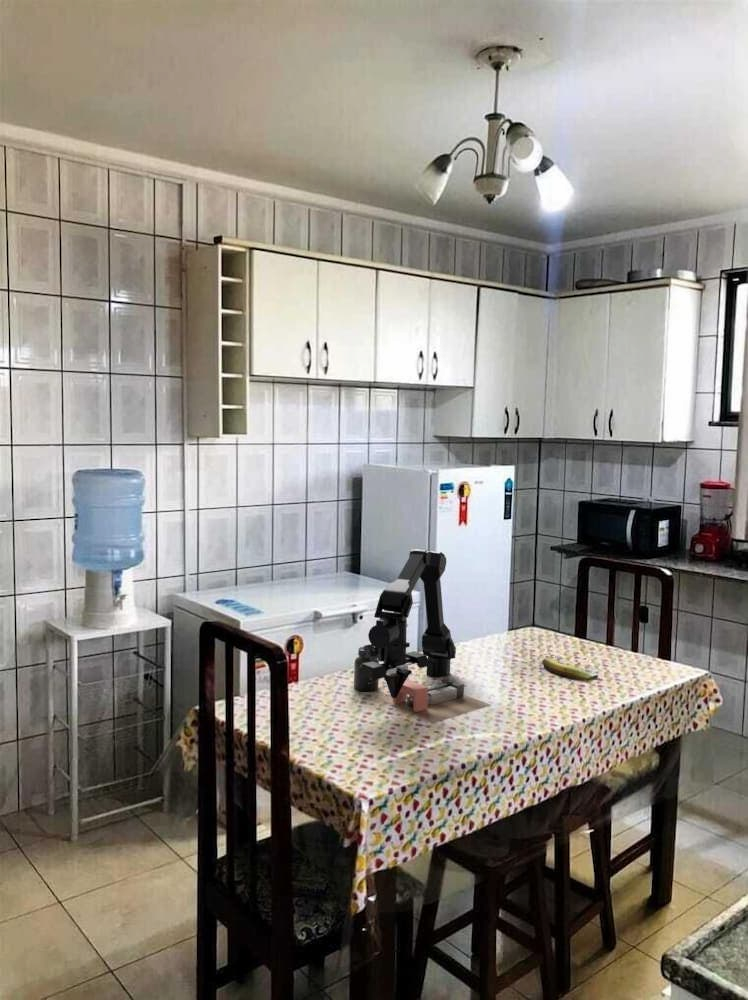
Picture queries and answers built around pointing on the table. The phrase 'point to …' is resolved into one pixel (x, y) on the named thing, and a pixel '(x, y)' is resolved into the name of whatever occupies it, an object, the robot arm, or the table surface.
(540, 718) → the table surface
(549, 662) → the green-yellow banana
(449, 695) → the tongs jaw
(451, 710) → the board
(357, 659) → the supplement bottle
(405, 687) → the pink u-shaped block
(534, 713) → the table surface
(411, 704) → the tongs fixed
